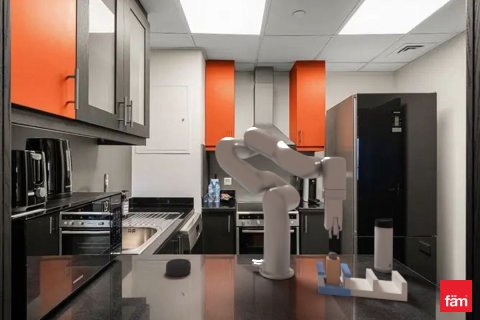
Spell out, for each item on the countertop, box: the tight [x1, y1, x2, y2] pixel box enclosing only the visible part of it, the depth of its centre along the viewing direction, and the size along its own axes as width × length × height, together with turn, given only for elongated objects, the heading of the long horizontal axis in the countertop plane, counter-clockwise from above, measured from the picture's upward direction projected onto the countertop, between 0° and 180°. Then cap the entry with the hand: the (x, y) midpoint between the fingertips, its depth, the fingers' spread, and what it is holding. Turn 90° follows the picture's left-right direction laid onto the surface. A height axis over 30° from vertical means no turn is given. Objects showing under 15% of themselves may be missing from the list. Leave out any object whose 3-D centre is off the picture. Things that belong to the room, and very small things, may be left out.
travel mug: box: [373, 217, 395, 274], centre depth 115 cm, size 6×7×20 cm
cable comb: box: [316, 260, 408, 302], centre depth 96 cm, size 26×11×6 cm, turn 78°
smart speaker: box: [165, 258, 192, 277], centre depth 109 cm, size 9×9×4 cm
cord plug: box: [325, 251, 341, 285], centre depth 98 cm, size 4×4×11 cm
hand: (333, 250), depth 98 cm, fingers closed
